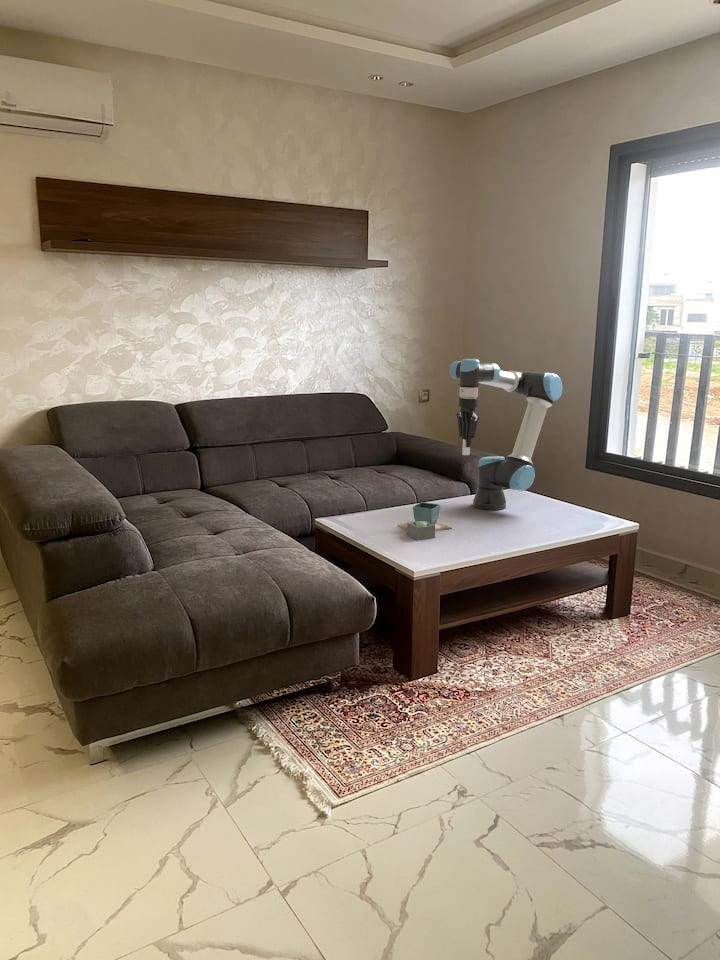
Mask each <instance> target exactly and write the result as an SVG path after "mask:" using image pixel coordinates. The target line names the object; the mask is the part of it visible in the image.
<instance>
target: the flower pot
mask: <svg viewBox="0 0 720 960" xmlns="http://www.w3.org/2000/svg"><path fill="white" fill-rule="evenodd" d="M440 509H441V504H439V503H438V504H437V503H431V502H418V503H417V504H415V505H413V506H412V512H413V520H414V522H417V521H427V522H429V523H431V524H433V525H435V523H436V522H437V521H438V519H439V516H440Z"/></svg>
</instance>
